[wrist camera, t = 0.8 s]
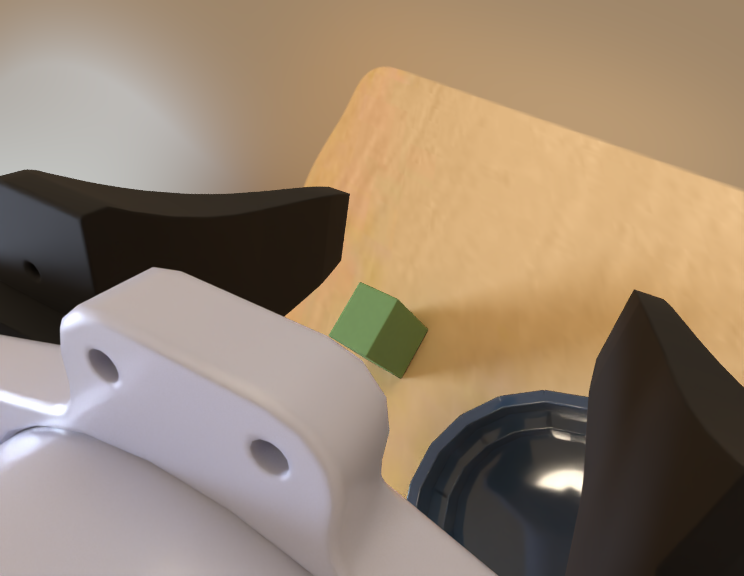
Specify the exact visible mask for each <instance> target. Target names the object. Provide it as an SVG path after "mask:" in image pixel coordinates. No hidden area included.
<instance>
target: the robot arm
mask: <svg viewBox="0 0 744 576" xmlns="http://www.w3.org/2000/svg"><path fill="white" fill-rule="evenodd" d="M349 196H350V194H349V193H346V192H343V191H340V190H337V189H334V188H331V187H303V188H293V189H282V190H272V191H262V192H248V193H234V194H180V193H167V192H155V191H143V190H135V189H128V188H120V187H114V186H108V185H102V184H96V183H91V182H86V181H81V180H77V179H72V178H68V177H63V176H59V175H54V174H50V173H45V172H42V171H37V170H22V171H18V172H14V173H10V174H6V175H2V176H0V576H498V575H497V574H496V573H494V572H493V571H492V570H491V569H489V568H488V567H487V566H486V565H485V564H483V563H482V562H481V561H480V560H479V559H477V558H476V557H475V556H474V555H473V554H471V553H470V552H469V551H468V550H467V549H465V548H464V547H463V546H462V545H460V544H459V543H458V542H457V541H456V540H454V539H453V538H452V537H451V536H450V535H448V534H447V533H446V532H445V531H444V530H442V529H441V528H440V527H439V526H438V525H436V524H435V523H434V522H433V521H432V520H430V519H429V518H428V517H427V516H425V515H424V514H423V513H422V512H421V511H419V510H418V509H417V508H416V507H415V506H413V505H412V504H411V503H410V502H409V501H407V500H406V499H405V498H404V497H403V496H401V495H400V494H399V493H398V492H397V491H395V490H394V489H393V488H392V487H390V486H389V485H388V484H387V483H386V482H385V481H384V480H383V478H382V476H381V467H382V458H383V454H384V450H385V446H386V442H387V438H388V434H389V422H388V411H387V401H386V396H385V395H384V393H383V392H382V390H381V389H380V387H379V385H378V384H377V382H376V381H375V379H374V378H373V376H372V375H371V373H370V372H369V370H368V369H367V367H366V366H365V364H364V363H363V361H362V360H361V359H359V358H358V357H356V356H355V355H353V354H352V353H351V352H349V351H348V350H346V349H345V348H344V347H342V346H341V345H339V344H338V343H336V342H335V341H334V340H332V339H331V338H329V337H328V336H326V335H324V334H321V333H319V332H317V331H315V330H312V329H310V328H308V327H306V326H303V325H301V324H299V323H297V322H294V321H292V320H290V319H288V318H285V317H284V316H285V315H287V314H288V313H289V312H290V311H291V310H292V309H294V308H295V307H296V306H297V305H298V304H299V303H301V302H302V301H303V300H304V299H305V298H306V297H307V296H309V295H310V294H311V293H312V292H313V291H314V290H315V289H316V288H318V287H319V286H320V285H321V284H322V283H323V282H324V280H325V279H326V278H327V277H328V276H329V275H330V274H331V272H332V271H333V270H334V269H335V267H336V266H337V265H338V263H339V262H340V261H341V257H342V249H343V242H344V234H345V226H346V219H347V211H348V203H349ZM565 576H744V387H743V386H742V385H741V384H740V383H739V382H738V381H737V380H736V379H735V378H734V377H733V376H732V375H731V374H730V373H729V372H728V371H727V370H726V369H725V368H724V367H723V366H722V365H721V364H720V363H719V362H718V361H717V360H716V358H715V357H714V356H713V355H712V354H711V353H710V352H709V351H708V350H707V348H706V347H705V346H704V345H703V344H702V343H701V341H700V340H699V339H698V338H697V337H696V336H695V334H694V333H693V332H692V331H691V330H690V328H689V327H688V326H687V325H686V323H685V322H684V321H683V320H682V319H681V317H680V316H679V315H678V314H677V313H676V312H675V310H674V309H673V308H672V307H671V306H670V305H669V304H668V303H667V302H666V301H665V300H664V299H661V298H658V297H655V296H652V295H649V294H646V293H643V292H640V291H637V290H634V291H633V292H632V294H631V296H630V298H629V300H628V302H627V303H626V305H625V307H624V309H623V311H622V313H621V315H620V316H619V318H618V320H617V322H616V324H615V326H614V328H613V329H612V331H611V333H610V335H609V337H608V339H607V340H606V342H605V344H604V346H603V348H602V350H601V352H600V353H599V355H598V357H597V359H596V363H595V368H594V372H593V376H592V380H591V385H590V390H589V397H588V412H587V428H586V445H585V463H584V476H583V485H582V492H581V498H580V503H579V508H578V513H577V519H576V524H575V529H574V534H573V539H572V544H571V548H570V553H569V558H568V563H567V567H566V572H565Z"/></svg>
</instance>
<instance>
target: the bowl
mask: <svg viewBox="0 0 744 576" xmlns="http://www.w3.org/2000/svg"><path fill="white" fill-rule="evenodd" d="M587 412H588V397H585V396H579V395H573V394H567V393H561V392H555V391H548V390H545V391H544V390H539V391H532V392H525V393H518V394H510V395H503V396H500V397H496V398H494V399H492V400H490V401H488V402H486V403H484V404H482V405H480V406H478V407H476V408H474V409H472V410H470V411H468V412H465V413H463V414H462V415H460V416H459V417H458V418H457V419H456V420H455V421H454V422H453V423H452V424H451V425H450V426H449V427H448V428H447V429H446V430H445V431H444V432H443V433H442V434H441V435H440V436H438V437H437V438H436V439H435V440H434V441H433V442H432V443H431V445H430V446H429V448H428V450H427V452H426V454H425V456H424V458H423V460H422V461H421V463H420V465H419V467H418V469H417V471H416V473H415V475H414V477H413V479H412V480H411V484H410V486H409V491H408V496H407V501H409V502H410V503H411V504H412V505H413V506H415V507H416V508H417V509H418V510H419V511H421V512H422V513H423V514H424V515H425V516H427V517H428V518H429V519H430V520H432V521H433V522H434V523H435V524H436V525H438V526H439V527H440V528H441V529H442V530H444V531H445V532H446V533H447V534H448V535H450V536H451V537H452V538H453V539H454V540H456V541H457V542H458V543H459V544H460V545H462V546H463V547H464V548H465V549H467V550H468V551H469V552H470V553H471V554H473V555H474V556H475V557H476V558H477V559H479V560H480V561H481V562H482V563H483V564H485V565H486V566H487V567H488V568H489V569H491V570H492V571H493V572H494V573H496V574H497V575H498V576H565V572H566V567H567V563H568V558H569V553H570V548H571V544H572V539H573V534H574V529H575V524H576V519H577V513H578V508H579V503H580V498H581V492H582V485H583V476H584V463H585V445H586V428H587Z"/></svg>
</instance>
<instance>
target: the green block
mask: <svg viewBox="0 0 744 576" xmlns="http://www.w3.org/2000/svg"><path fill="white" fill-rule="evenodd" d="M427 331H428V329H427V328H426V327H425V326H424V325H423V324H422V323H421V322H420V321H419V320H418V319H417V318H416V317H415V316H414V315H413V314H412V313H411V312H410V311H409V310H408V309H407V308H406V307H405V306H404V305H403V304H402V303H401V302H400V301H399V300H398V299H397V298H394V297H392V296H390V295H388V294H386V293H383V292H381V291H379V290H377V289H375V288H373V287H370V286H368V285H366V284H364V283H362V282H360V283H359V285H358V286H357V288H356V290H355V291H354V293H353V295H352V297H351V298H350V300H349V302H348V303H347V305H346V307H345V309H344V310H343V312H342V314H341V315H340V317H339V319H338V321H337V322H336V324H335V326H334V327H333V329H332V331H331V333H330V334H329V336H330V337H331V338H333V339H335V340H336V341H338V342H339V343H341V344H343V345H344V346H346V347H348V348H349V349H351V350H352V351H354V352H356V353H357V354H359V355H361V356H362V357H364V358H365V359H367V360H369V361H370V362H372V363H374V364H376V365H378V366H379V367H381V368H383V369H385V370H386V371H388V372H390V373H392V374H393V375H395V376H397V377H399V378H402V376H403V374H404V373H405V371H406V369H407V367H408V365H409V364H410V362H411V360H412V358H413V356H414V354H415V353H416V351H417V349H418V347H419V345H420V344H421V342H422V340H423V338H424V336H425V334H426V333H427Z"/></svg>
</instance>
